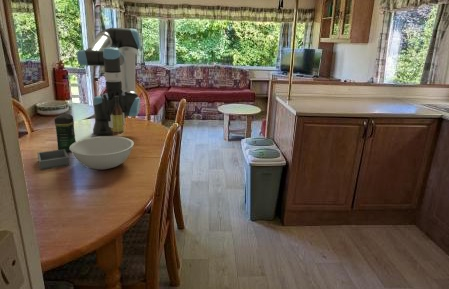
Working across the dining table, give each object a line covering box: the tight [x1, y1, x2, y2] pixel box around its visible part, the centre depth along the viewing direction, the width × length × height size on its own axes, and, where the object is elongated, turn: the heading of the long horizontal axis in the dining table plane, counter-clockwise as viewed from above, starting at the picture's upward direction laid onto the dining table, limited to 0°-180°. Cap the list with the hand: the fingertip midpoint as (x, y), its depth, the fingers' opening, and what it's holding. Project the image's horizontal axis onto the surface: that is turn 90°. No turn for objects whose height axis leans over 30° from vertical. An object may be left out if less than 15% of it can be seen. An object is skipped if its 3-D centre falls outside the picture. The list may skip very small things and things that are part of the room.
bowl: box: [69, 135, 135, 170], centre depth 143 cm, size 27×27×10 cm
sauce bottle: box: [111, 96, 125, 135], centre depth 160 cm, size 7×6×20 cm
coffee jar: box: [54, 113, 77, 153], centre depth 159 cm, size 10×8×19 cm
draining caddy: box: [37, 149, 70, 171], centre depth 144 cm, size 12×13×4 cm
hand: (117, 125), depth 162 cm, fingers closed on sauce bottle, 6 cm apart
